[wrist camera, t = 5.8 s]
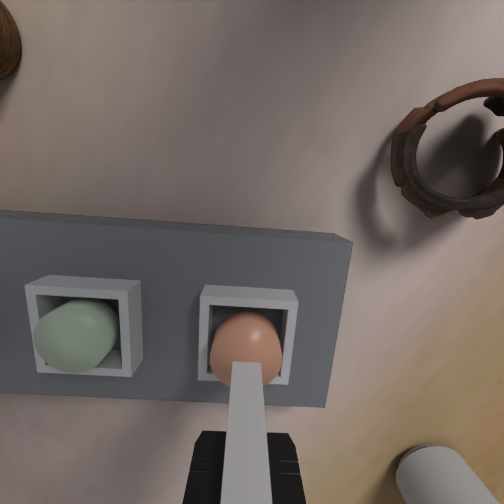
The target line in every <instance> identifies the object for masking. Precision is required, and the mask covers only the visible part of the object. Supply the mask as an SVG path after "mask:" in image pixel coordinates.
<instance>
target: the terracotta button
mask: <svg viewBox="0 0 504 504" xmlns="http://www.w3.org/2000/svg"><path fill="white" fill-rule="evenodd" d="M233 361H236V362H255V363H261V370H262V383H263V386H265V385H267V384H268V383H270V382H271V381H272V380H273V379H274V378H275V377H276V376H277V374H278V373H279V371H280V368H281V365H282V352H281V347H280V342H279V338H278V333H277V330H276V328H275V326H274V325H273V323H272V322H271V321H270V320H269V319H268V318H266V317H265V316H263V315H261V314H258V313H255V312H249V311H244V312H238V313H234V314H232V315H230V316H228V317H227V318H225V319H224V320H223V321H222V322H221V323H220V324H219V326H218V327H217V329H216V332H215V336H214V340H213V344H212V349H211V353H210V365H211V368H212V371H213V373H214V374H215V376H216V377H217V378H218V379H219V380H220V381H221V382H222V383H223V384H225V385H226V386H228V387H231V375H232V364H233Z"/></svg>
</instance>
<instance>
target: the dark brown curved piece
mask: <svg viewBox="0 0 504 504" xmlns="http://www.w3.org/2000/svg"><path fill="white" fill-rule="evenodd" d="M479 97H488V98H487V99H486V100H485V101H484V106H485V107H486V108H488V109H490V110H491V111H492V112H493V113H494V114H495V115H497V116H504V78H492V79H483V80H478V81H475V82H471V83H468V84H465V85H463V86H459V87H456V88H455V89H453V90H452V91H449V92H447V93H445V94H443V95H441V96H439V97H437V98H436V99H434V100H432V101H431V102H429V103H428V104H427V105H426V106H425V107H422V108H421V107H420V108H414V109H413V110H412V111H411V112H410V113H409V114H408V115H407V116H406V118H405V119H404V120H403V121H402V122H401V124H400V125H399V127H398V128H397V130H396V131H395V133H396V135H394V137H393V139H392V144H391V157H390V159H391V172H392V175H393V179H394V183H395V185H396V186H398V187H401V188H402V190H401V193H402V195H403V196H404V197H405V198H406V199H407V200H408V201H410V202H411V203H412V204H414V205H415V206H417V207H418V208H419V209H420V210H421V211H422V212H424V214H425V215H426V216H427V217H429V218H430V219H432V218H434V217H438V216H441V215H443V214H445V213H447V212H449V211H452V210H458V211H459V213H460V215H463V216H465V217H473V218H474V219H481V218H484V217H488V216H491V215H493V214H494V213H495V212H496V210H498V209H499V208H500V207H502V206H503V205H504V128H502V129H500V130H498V131H497V132H496V133H495V135H496V137H497V138H498V140H499V141H500V144H501V146H502V150H503V164H502V168H501V171H500V173H499V175H498V177H497V178H496V179H495V180H494V182H493V183H492V184H491V185H490V186H489V187H488V188H487V189H486V190H485V191H483V192H482V193H481V194H479V195H478V196H475V197H467V198H453V197H448V196H445V195H442V194H440V193H437V192H435V191H434V190H432V189H431V188H430V187H428V186H427V185H426V183H425V182H424V181H423V180H422V178H421V176H420V174H419V172H418V168H417V164H416V151H417V147H418V144H419V140H420V138H421V136H422V134H423V133H424V131H425V129H426V124H425V123H426V122H427V121H428V120H429V119H430V118H431V117H432V116H434V115H435V114H436V113H438V112H443V111H445V110H447V109H448V108H450V107H452V106H454V105H456V104H458V103H461V102H463V101H466V100H469V99H473V98H479Z"/></svg>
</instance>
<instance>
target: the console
mask: <svg viewBox="0 0 504 504" xmlns="http://www.w3.org/2000/svg"><path fill="white" fill-rule="evenodd" d="M352 246H353V242H351V241H349V240H347V239H344V238H342V237H340V236H338V235H336V234H334V233H321V232H306V231H292V230H278V229H264V228H250V227H235V226H221V225H207V224H193V223H179V222H165V221H150V220H136V219H122V218H108V217H94V216H79V215H65V214H51V213H37V212H23V211H8V210H0V393H21V394H42V395H64V396H85V397H107V398H128V399H150V400H171V401H192V402H214V403H229V399H230V387H228V386H226V385H225V384H223V383H222V382H221V381H220V380H219V379H218V378H217V377H216V376H215V374H214V373H213V371H212V368H211V365H210V353H211V349H212V344H213V340H214V336H215V332H216V329H217V327H218V326H219V324H220V323H221V322H222V321H223V320H224V319H225V318H227V317H228V316H230V315H232V314H234V313H238V312H244V311H249V312H255V313H258V314H261V315H263V316H265V317H266V318H268V319H269V320H270V321H271V322H272V323H273V325H274V326H275V328H276V330H277V333H278V338H279V342H280V347H281V352H282V365H281V368H280V371H279V373H278V374H277V376H276V377H275V378H274V379H273V380H272V381H271V382H270V383H268V384H267V385H265V386H263V395H264V405H278V406H300V407H321V408H325V404H326V398H327V392H328V387H329V381H330V375H331V369H332V363H333V357H334V351H335V345H336V340H337V334H338V328H339V322H340V316H341V310H342V304H343V299H344V293H345V287H346V281H347V275H348V269H349V263H350V258H351V252H352ZM78 297H86V298H96V299H99V300H101V301H103V302H105V303H107V304H108V305H109V306H110V307H111V308H112V309H113V310H114V311H115V312H116V313H117V315H118V317H119V319H120V338H119V340H118V342H117V343H116V345H115V346H114V347H113V348H112V349H111V350H110V352H109V353H108V354H107V355H106V356H105V357H104V358H103V360H102V361H101V362H100V363H99V364H98V365H97V366H96V367H94V368H93V369H91V370H89V371H86V372H82V373H68V372H63V371H60V370H58V369H55V368H54V367H52V366H50V365H49V364H47V363H46V362H45V361H44V360H43V359H42V358H41V357H40V355H39V354H38V352H37V350H36V348H35V346H34V342H33V332H34V328H35V326H36V324H37V323H38V321H39V320H40V319H41V318H42V317H43V316H45V315H46V314H48V313H50V312H51V311H53V310H55V309H56V308H58V307H60V306H61V305H63V304H65V303H66V302H68V301H70V300H72V299H74V298H78Z"/></svg>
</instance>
